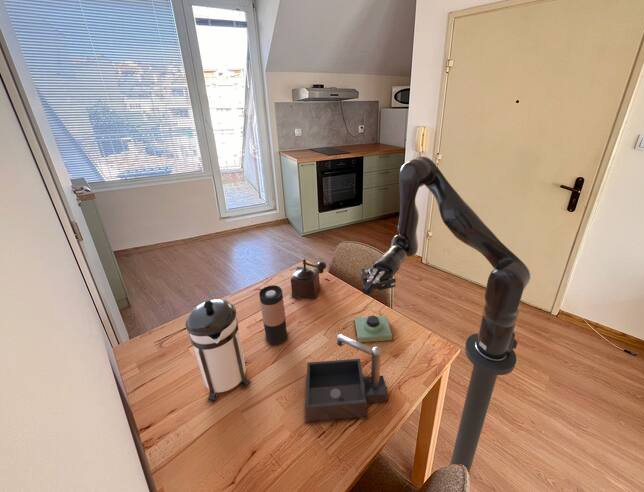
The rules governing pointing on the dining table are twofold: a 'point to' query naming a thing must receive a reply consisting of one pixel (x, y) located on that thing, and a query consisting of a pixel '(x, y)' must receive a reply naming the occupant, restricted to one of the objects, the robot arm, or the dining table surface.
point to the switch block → (372, 330)
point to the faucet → (372, 351)
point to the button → (373, 321)
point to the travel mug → (273, 314)
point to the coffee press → (217, 345)
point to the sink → (339, 390)
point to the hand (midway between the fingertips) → (365, 292)
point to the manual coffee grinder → (306, 280)
